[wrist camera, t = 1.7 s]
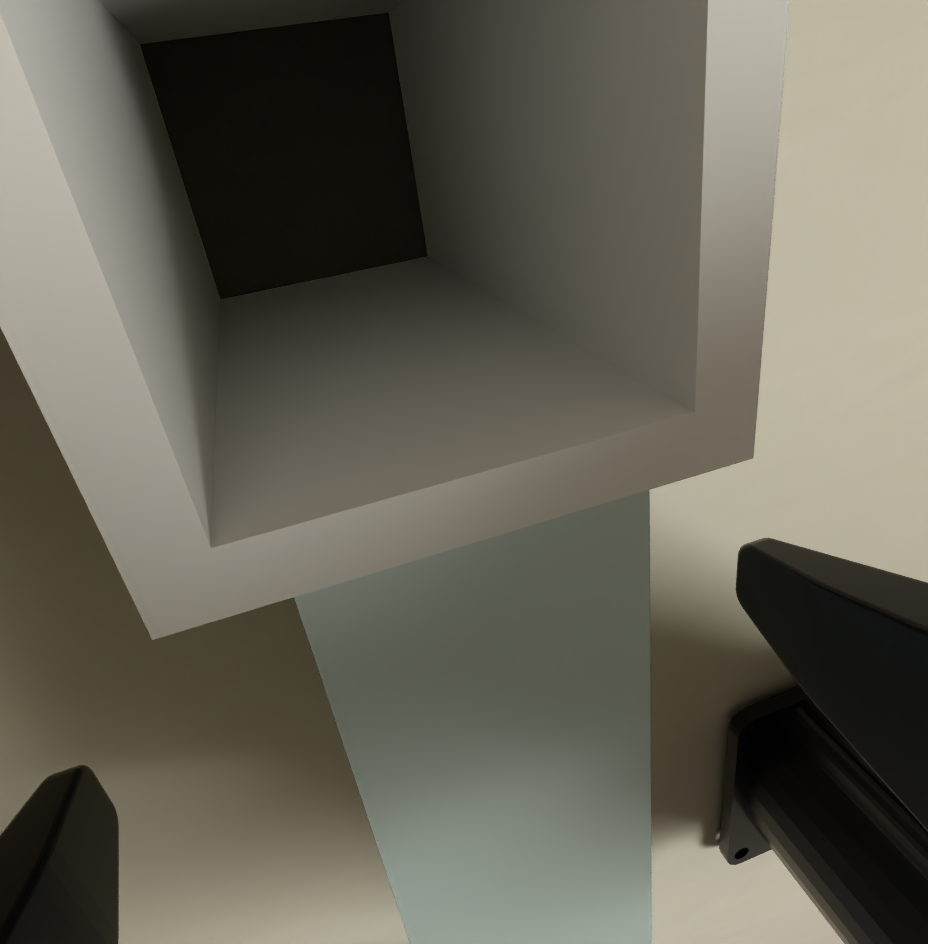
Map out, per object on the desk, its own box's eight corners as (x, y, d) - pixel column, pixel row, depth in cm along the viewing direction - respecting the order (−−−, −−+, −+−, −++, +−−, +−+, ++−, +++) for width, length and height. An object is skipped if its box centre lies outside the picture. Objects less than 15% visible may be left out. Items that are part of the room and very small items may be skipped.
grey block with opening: (80, -1, 8) (-364, -421, 2) (418, -39, 9) (822, -412, 3) (339, 756, 14) (419, 1190, 9) (519, 692, 15) (706, 1045, 9)
